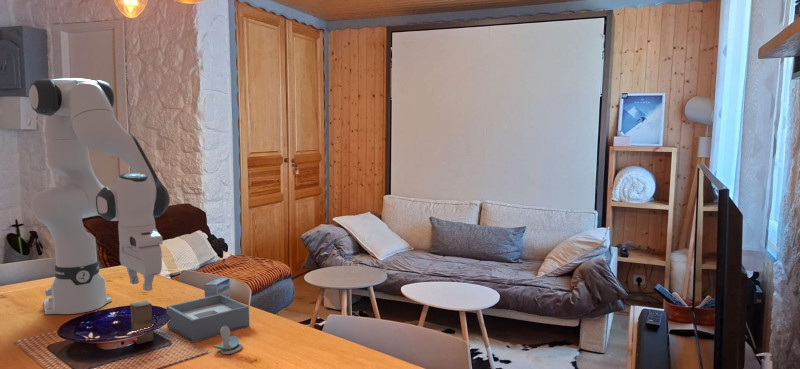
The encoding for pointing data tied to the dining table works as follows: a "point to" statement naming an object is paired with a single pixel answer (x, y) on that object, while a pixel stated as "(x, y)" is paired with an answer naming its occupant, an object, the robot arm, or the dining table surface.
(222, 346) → the pacifier
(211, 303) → the bin
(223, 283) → the medicine box
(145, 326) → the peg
